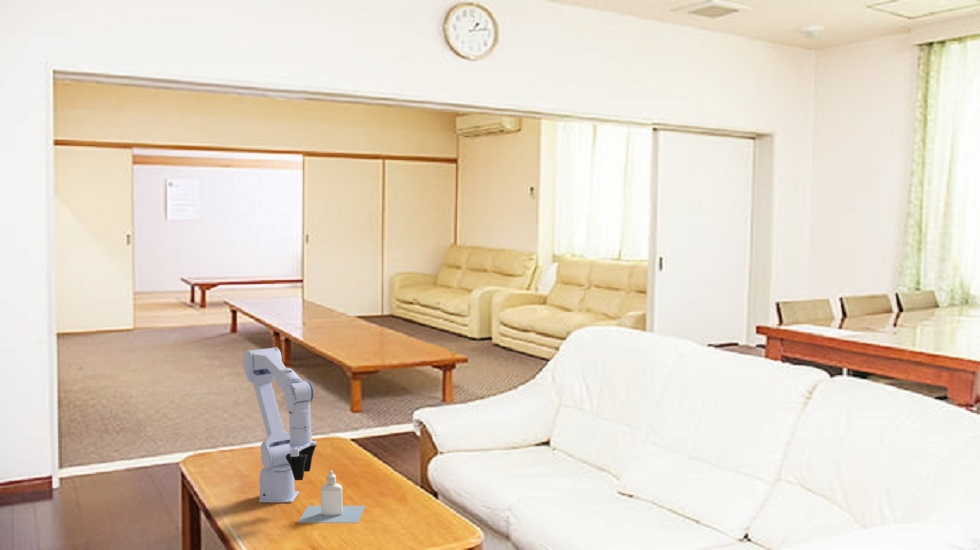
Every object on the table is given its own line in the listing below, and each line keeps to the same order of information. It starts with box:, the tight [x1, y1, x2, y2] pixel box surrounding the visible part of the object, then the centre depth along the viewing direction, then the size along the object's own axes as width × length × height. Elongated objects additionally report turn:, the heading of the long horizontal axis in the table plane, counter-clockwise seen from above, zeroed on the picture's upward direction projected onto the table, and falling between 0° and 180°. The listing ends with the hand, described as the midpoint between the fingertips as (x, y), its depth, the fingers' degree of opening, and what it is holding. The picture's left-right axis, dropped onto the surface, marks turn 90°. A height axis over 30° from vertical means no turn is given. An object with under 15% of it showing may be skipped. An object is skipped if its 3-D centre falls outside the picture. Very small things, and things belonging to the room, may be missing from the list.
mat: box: [297, 505, 366, 524], centre depth 221 cm, size 16×12×1 cm
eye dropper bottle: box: [320, 470, 344, 516], centre depth 221 cm, size 4×6×12 cm
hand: (302, 475), depth 221 cm, fingers open, 7 cm apart
